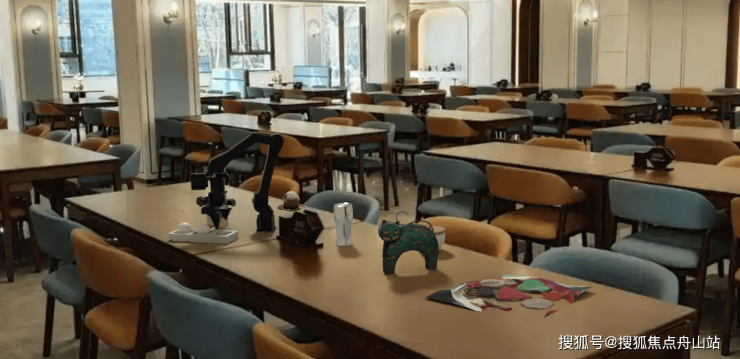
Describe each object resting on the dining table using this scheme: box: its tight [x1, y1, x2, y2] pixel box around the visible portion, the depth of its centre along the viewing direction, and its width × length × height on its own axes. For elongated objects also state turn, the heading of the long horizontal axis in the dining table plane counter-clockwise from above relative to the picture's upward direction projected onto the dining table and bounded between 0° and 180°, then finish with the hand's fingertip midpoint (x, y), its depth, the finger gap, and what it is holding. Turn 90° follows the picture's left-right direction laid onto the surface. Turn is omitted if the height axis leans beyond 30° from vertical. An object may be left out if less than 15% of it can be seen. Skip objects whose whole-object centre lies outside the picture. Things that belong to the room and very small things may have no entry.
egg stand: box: [210, 226, 232, 231], centre depth 323 cm, size 6×6×2 cm
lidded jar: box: [426, 224, 446, 250], centre depth 287 cm, size 11×11×9 cm
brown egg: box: [218, 217, 227, 229], centre depth 323 cm, size 5×5×5 cm
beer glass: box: [333, 202, 354, 247], centre depth 298 cm, size 7×7×15 cm
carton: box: [167, 222, 239, 245], centre depth 313 cm, size 25×9×6 cm, turn 73°
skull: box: [277, 191, 305, 210], centre depth 371 cm, size 12×10×10 cm
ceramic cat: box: [377, 210, 440, 276], centre depth 261 cm, size 20×6×20 cm, turn 105°
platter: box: [424, 274, 592, 318], centre depth 234 cm, size 35×35×2 cm
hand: (219, 227), depth 323 cm, fingers closed on brown egg, 5 cm apart
